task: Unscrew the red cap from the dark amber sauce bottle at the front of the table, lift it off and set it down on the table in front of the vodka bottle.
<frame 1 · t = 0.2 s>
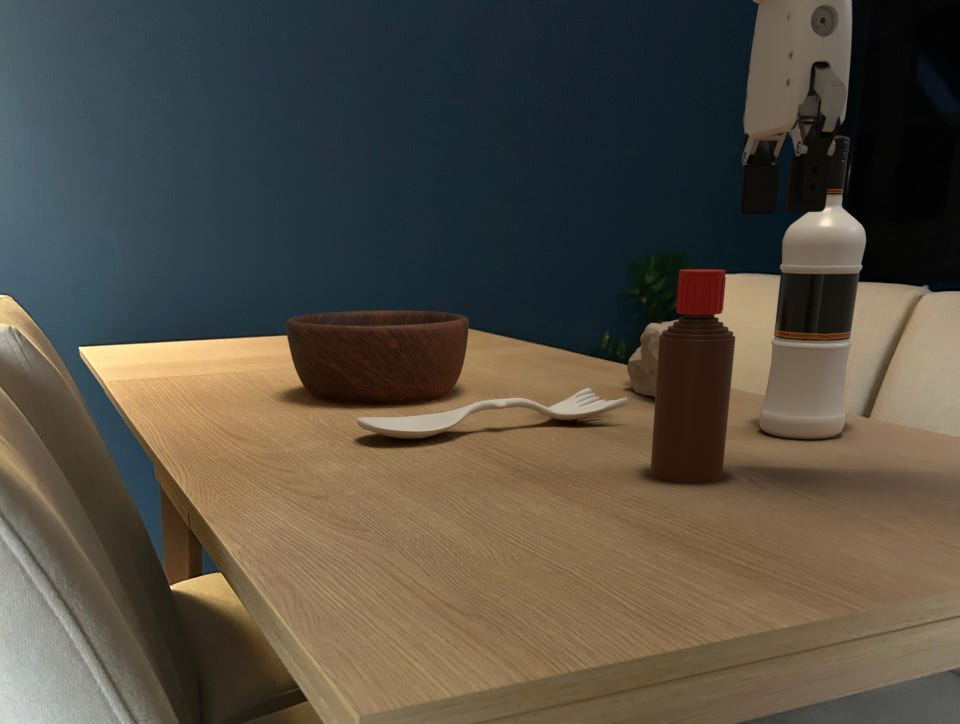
hand: (779, 212, 83), 23 cm above the table, tool pointing down, fingers open, 9 cm apart
decorative stone: (668, 399, 132), on the table
vodka: (799, 434, 110), on the table
cap: (702, 274, 81), point 18 cm above the table, screwed on, not yet turned
wooden bowl: (381, 395, 137), on the table
white spork: (491, 431, 112), on the table
sauce bottle: (685, 484, 88), on the table
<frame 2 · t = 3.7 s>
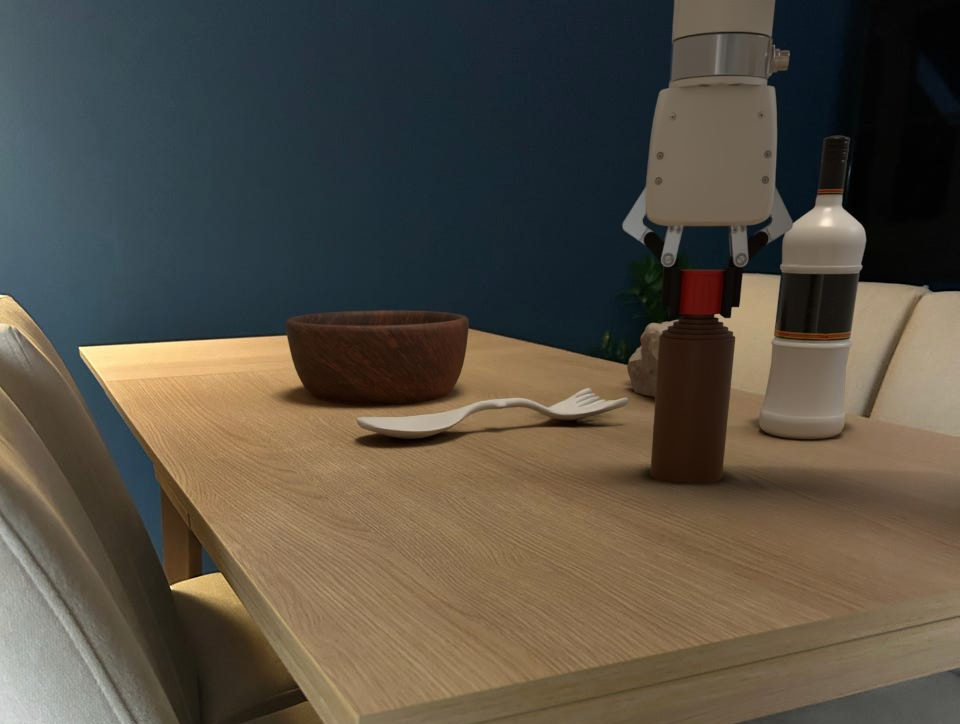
hand: (698, 314, 83), 15 cm above the table, tool pointing down, fingers closed on cap, 3 cm apart
cap: (702, 274, 81), point 18 cm above the table, screwed on, not yet turned, touching gripper
everything else where it was.
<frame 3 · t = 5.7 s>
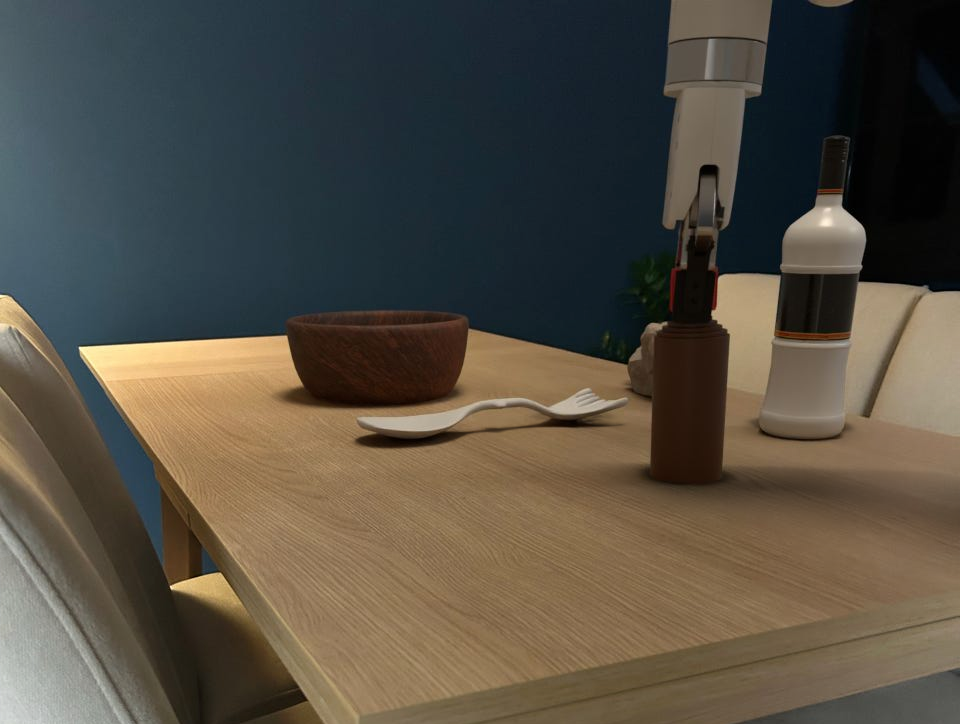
hand: (688, 317, 83), 15 cm above the table, tool pointing down, fingers closed on cap, 3 cm apart
cap: (694, 271, 81), point 18 cm above the table, turned 91° so far, risen 0.1 cm, still on its thread, touching gripper
everything else where it was.
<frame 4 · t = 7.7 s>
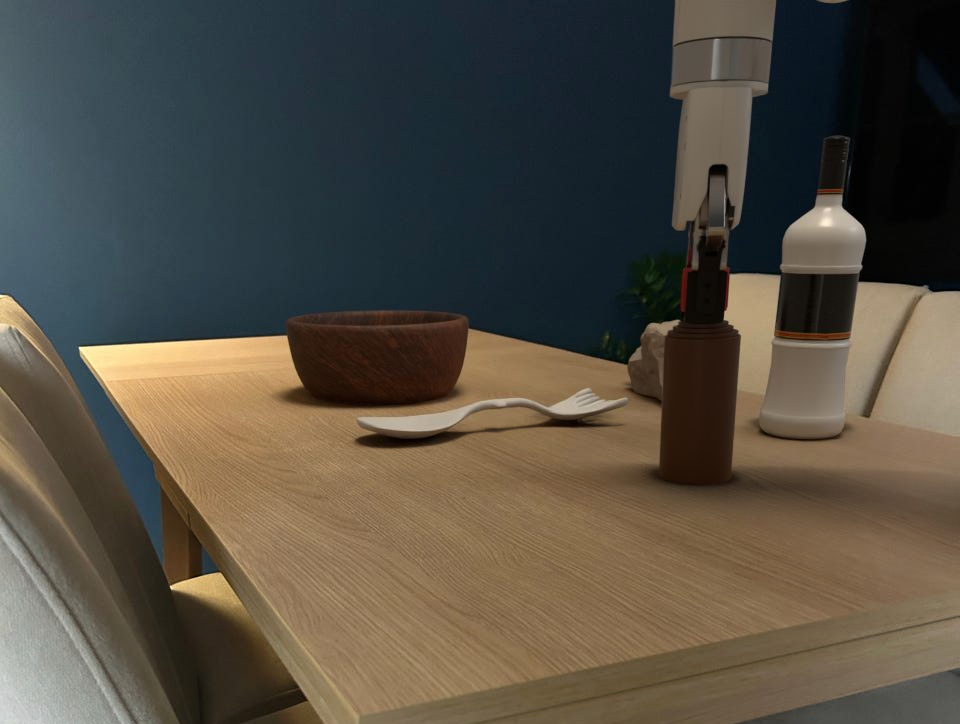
hand: (701, 318, 83), 14 cm above the table, tool pointing down, fingers closed on cap, 3 cm apart
cap: (706, 271, 81), point 18 cm above the table, turned 92° so far, risen 0.1 cm, still on its thread, touching gripper
everything else where it was.
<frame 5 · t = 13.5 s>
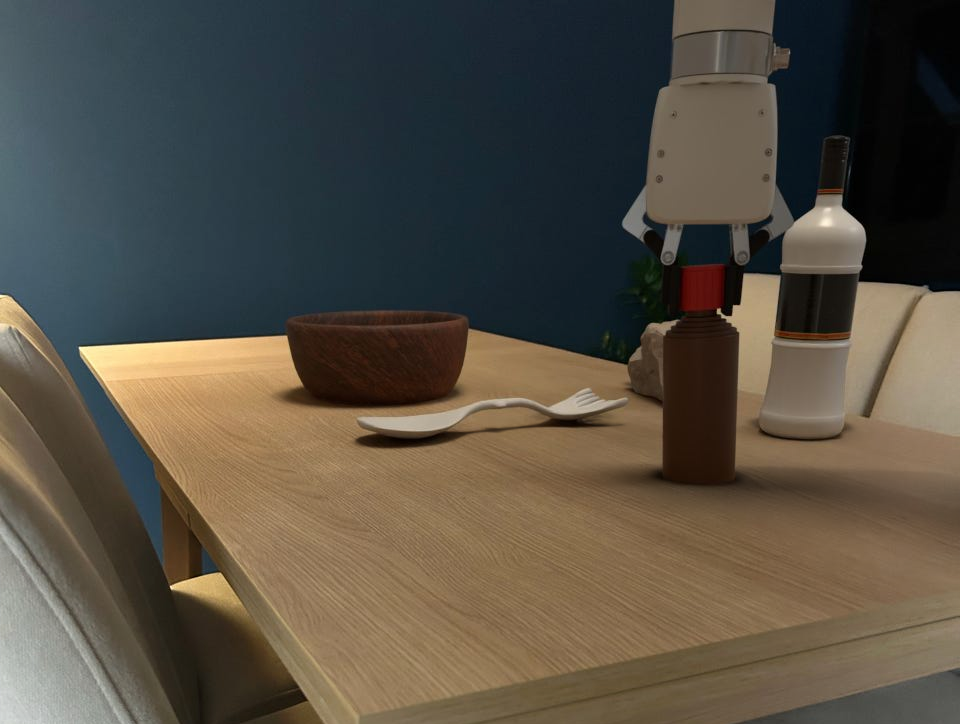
hand: (699, 312, 82), 15 cm above the table, tool pointing down, fingers closed on cap, 3 cm apart
cap: (702, 269, 81), point 18 cm above the table, turned 183° so far, risen 0.2 cm, still on its thread, touching gripper
everything else where it was.
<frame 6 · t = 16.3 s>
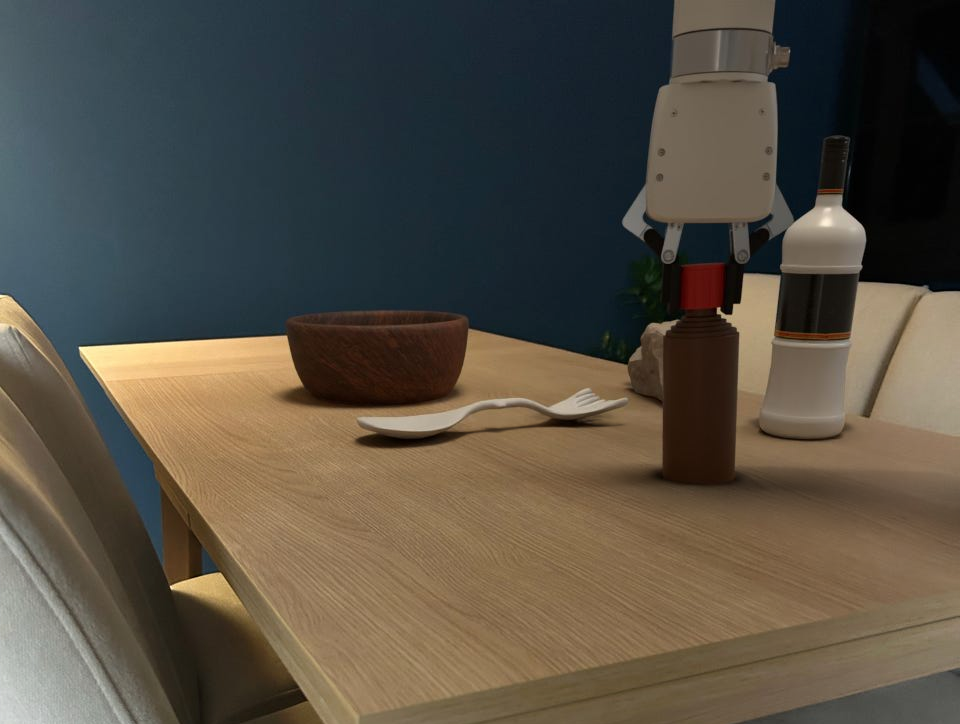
hand: (699, 311, 82), 15 cm above the table, tool pointing down, fingers closed on cap, 3 cm apart
cap: (702, 268, 81), point 18 cm above the table, turned 276° so far, risen 0.3 cm, still on its thread, touching gripper
everything else where it was.
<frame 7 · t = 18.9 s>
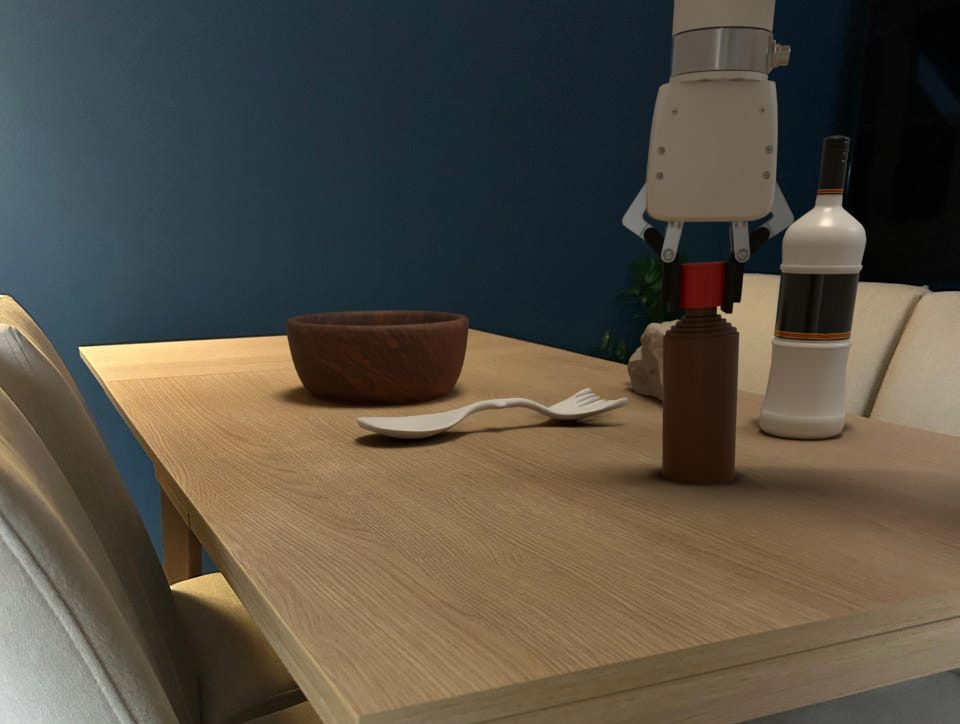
hand: (699, 309, 82), 15 cm above the table, tool pointing down, fingers closed on cap, 3 cm apart
cap: (702, 267, 81), point 19 cm above the table, turned 368° so far, risen 0.4 cm, still on its thread, touching gripper
everything else where it was.
when the fingers open (1 cm above the table, at t = 26.5 s): cap drops 2 cm, point 3 cm above the table.
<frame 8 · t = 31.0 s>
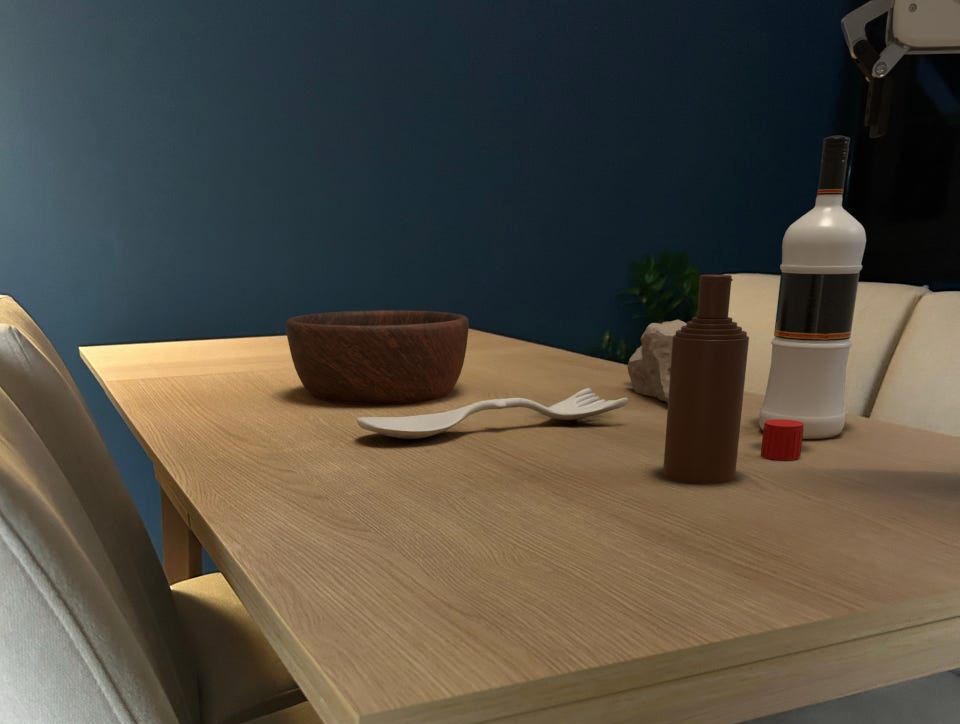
hand: (940, 135, 78), 28 cm above the table, tool pointing down, fingers open, 9 cm apart
cap: (783, 425, 98), point 3 cm above the table, off its thread
at the end: cap came off its thread; cap inside the target area on the table beside the vodka (0.1 cm from its centre), point 3.3 cm above the table; the gripper is holding nothing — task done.
